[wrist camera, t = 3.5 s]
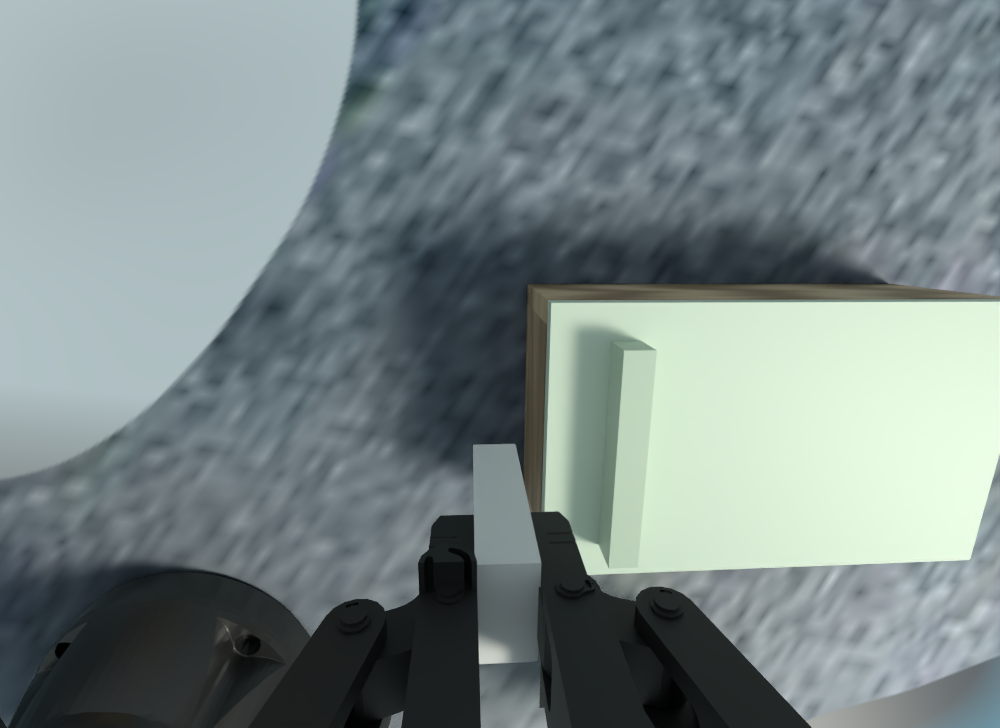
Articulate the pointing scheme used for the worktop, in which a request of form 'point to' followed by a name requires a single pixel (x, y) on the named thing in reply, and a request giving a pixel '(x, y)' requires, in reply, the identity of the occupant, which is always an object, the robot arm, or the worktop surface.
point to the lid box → (545, 292)
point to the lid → (770, 430)
